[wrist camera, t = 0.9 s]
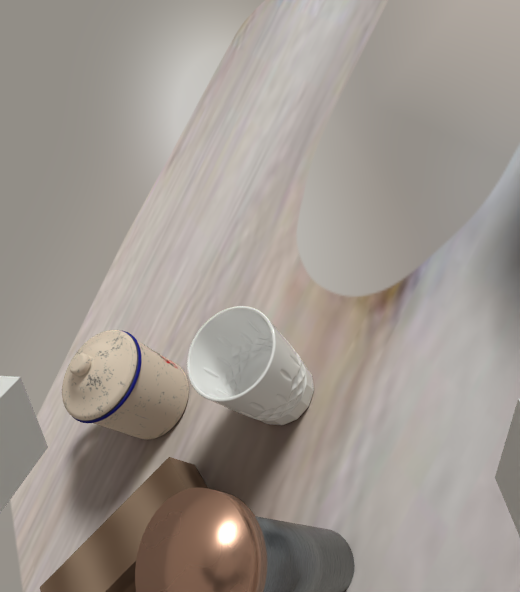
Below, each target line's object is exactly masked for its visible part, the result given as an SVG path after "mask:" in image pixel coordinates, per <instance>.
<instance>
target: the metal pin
mask: <svg viewBox="0 0 520 592" xmlns="http://www.w3.org/2000/svg"><path fill="white" fill-rule="evenodd" d="M353 574H354V558H353V554H352V551H351V549H350V547H349V545H348V543H347V542H346V540H345V539H344V538H343V537H342V536H341V535H339V534H338V533H336V532H334V531H332V530H328V529H323V528H317V527H312V526H306V525H300V524H295V523H289V522H284V521H278V520H272V519H267V518H261V517H256V516H255V515H254V514H253V513H252V511H251V510H250V509H249V508H248V506H247V505H246V504H245V503H243V502H242V501H241V500H240V499H238V498H237V497H235V496H233V495H231V494H228V493H225V492H220V491H216V490H212V489H208V488H190V489H186V490H183V491H181V492H179V493H177V494H175V495H173V496H172V497H171V498H169V499H168V500H167V501H166V502H164V503H163V504H162V505H161V507H160V508H159V509H158V510H157V511H156V512H155V514H154V515H153V517H152V518H151V520H150V522H149V523H148V525H147V527H146V529H145V532H144V534H143V536H142V539H141V542H140V545H139V549H138V553H137V559H136V568H135V586H136V592H344V591H345V590H346V589H347V588H348V587H349V585H350V583H351V581H352V578H353Z"/></svg>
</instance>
